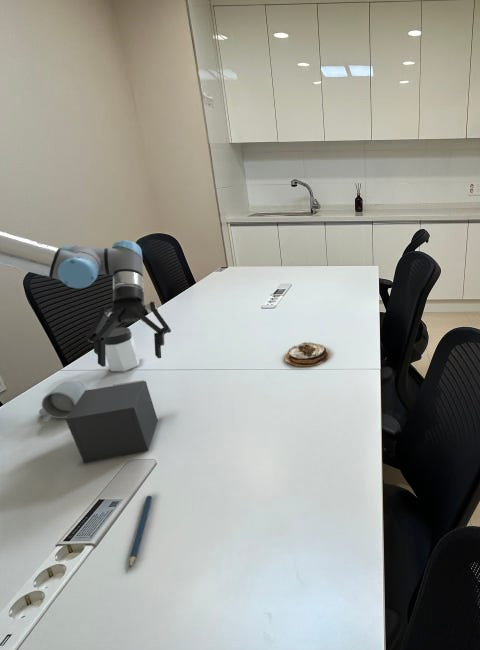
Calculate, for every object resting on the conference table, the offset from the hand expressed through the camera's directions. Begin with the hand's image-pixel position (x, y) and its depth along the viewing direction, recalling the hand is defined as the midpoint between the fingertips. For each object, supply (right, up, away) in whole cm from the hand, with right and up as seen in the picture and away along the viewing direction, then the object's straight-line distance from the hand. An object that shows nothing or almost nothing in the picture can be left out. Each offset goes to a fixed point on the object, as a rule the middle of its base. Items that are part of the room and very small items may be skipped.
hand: (130, 360), depth 104 cm
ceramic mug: (-17, -14, 0) cm, 22 cm away
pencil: (+24, -28, -35) cm, 51 cm away
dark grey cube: (+6, -18, -12) cm, 23 cm away
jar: (-16, -3, +23) cm, 28 cm away
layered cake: (+43, 0, +26) cm, 50 cm away
